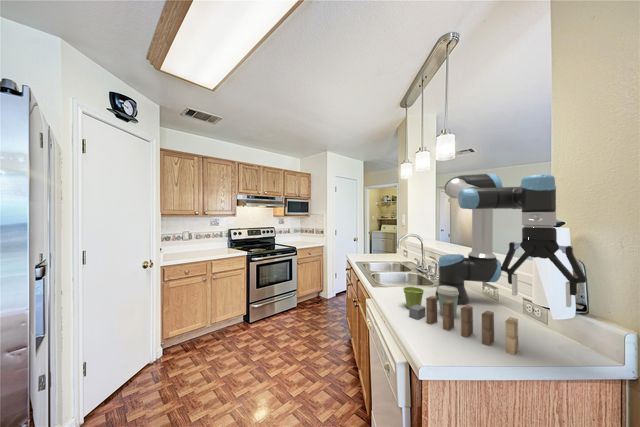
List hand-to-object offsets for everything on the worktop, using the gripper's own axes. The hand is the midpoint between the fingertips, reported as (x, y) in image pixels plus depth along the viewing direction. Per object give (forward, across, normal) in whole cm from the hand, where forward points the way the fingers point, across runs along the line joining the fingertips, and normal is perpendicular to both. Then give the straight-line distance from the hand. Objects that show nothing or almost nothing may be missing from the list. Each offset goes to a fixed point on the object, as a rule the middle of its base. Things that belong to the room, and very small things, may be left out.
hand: (540, 300), depth 69 cm
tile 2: (+18, -13, 0) cm, 23 cm away
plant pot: (+18, -46, +8) cm, 50 cm away
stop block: (+18, -39, 0) cm, 43 cm away
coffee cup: (+18, -32, +12) cm, 39 cm away
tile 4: (+18, -26, 0) cm, 32 cm away
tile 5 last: (+18, -33, 0) cm, 38 cm away
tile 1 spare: (+18, -7, 0) cm, 19 cm away
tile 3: (+18, -20, 0) cm, 27 cm away
